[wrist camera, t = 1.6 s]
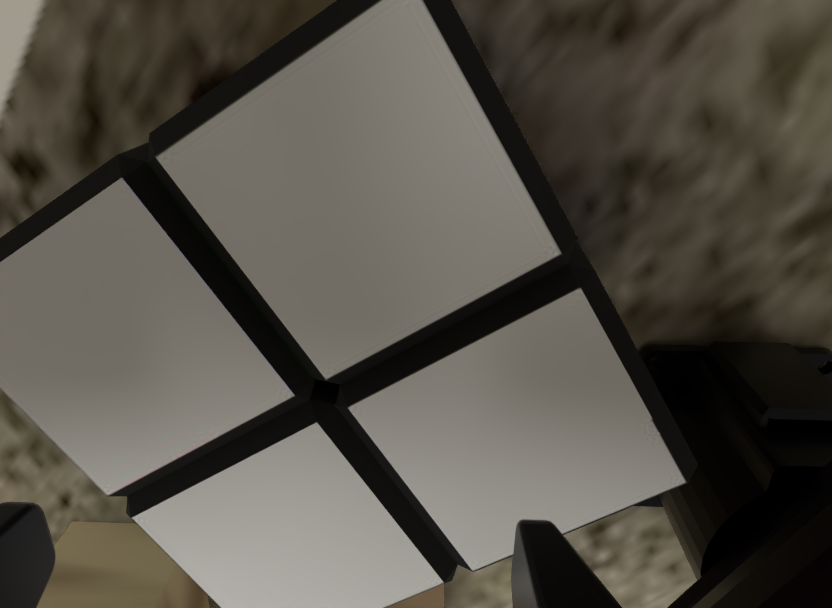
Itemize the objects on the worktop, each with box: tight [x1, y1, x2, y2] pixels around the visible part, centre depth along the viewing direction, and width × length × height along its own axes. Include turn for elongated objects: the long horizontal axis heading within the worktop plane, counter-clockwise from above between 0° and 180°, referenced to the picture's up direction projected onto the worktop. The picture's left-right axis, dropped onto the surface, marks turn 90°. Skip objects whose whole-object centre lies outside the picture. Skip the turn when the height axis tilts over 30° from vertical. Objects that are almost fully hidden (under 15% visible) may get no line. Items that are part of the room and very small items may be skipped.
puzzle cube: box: [0, 0, 698, 608], centre depth 15 cm, size 10×10×10 cm
